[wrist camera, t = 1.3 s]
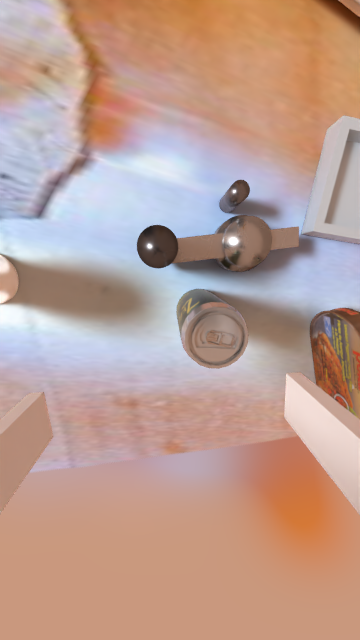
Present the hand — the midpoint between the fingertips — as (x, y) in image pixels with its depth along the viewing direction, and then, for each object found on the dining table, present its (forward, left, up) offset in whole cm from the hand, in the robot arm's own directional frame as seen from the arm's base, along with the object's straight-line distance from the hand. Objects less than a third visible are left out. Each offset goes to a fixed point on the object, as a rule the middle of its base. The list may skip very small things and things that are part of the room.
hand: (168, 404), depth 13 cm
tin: (+1, +22, -18) cm, 28 cm away
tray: (-19, +20, -17) cm, 32 cm away
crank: (-10, +4, -15) cm, 19 cm away
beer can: (-2, +3, -18) cm, 18 cm away
